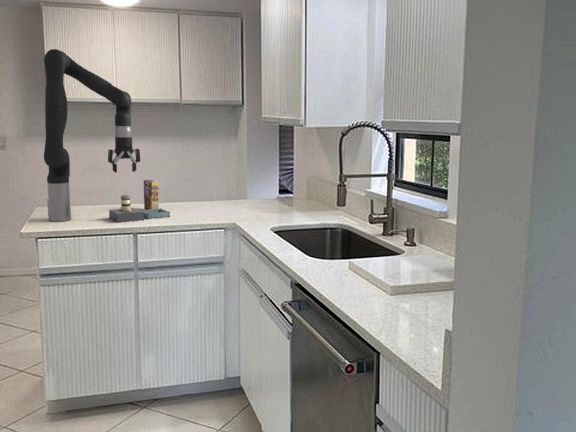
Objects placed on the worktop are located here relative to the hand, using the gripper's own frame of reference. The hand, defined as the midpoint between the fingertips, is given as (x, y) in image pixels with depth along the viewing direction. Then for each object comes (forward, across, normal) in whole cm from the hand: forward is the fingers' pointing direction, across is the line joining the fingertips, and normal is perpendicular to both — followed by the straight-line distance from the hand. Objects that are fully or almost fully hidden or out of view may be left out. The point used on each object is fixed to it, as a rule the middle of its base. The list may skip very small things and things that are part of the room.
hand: (124, 171), depth 270 cm
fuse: (+22, 0, 0) cm, 22 cm away
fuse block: (+22, 0, 0) cm, 22 cm away
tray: (+22, +14, +1) cm, 26 cm away
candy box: (+22, +19, +16) cm, 34 cm away
